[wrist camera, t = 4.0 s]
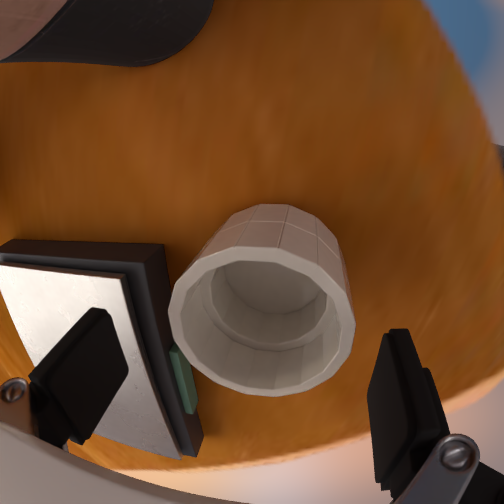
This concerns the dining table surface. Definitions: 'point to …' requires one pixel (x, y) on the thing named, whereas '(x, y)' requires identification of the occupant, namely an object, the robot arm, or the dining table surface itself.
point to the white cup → (266, 303)
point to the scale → (146, 310)
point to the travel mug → (98, 30)
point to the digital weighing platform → (60, 322)
